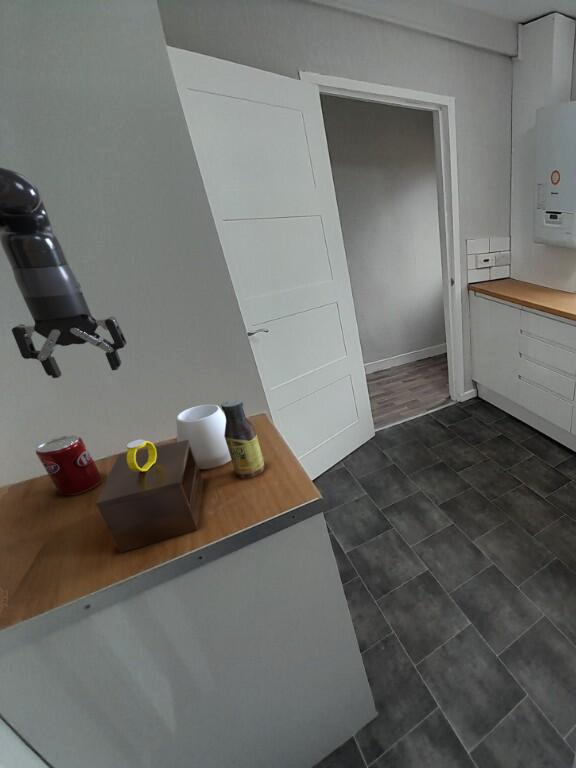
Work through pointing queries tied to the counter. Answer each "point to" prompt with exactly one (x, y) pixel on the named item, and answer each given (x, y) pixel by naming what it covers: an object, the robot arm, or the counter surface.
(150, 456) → the watch
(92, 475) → the soda can
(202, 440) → the cup
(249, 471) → the sauce bottle
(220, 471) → the counter surface
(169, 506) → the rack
